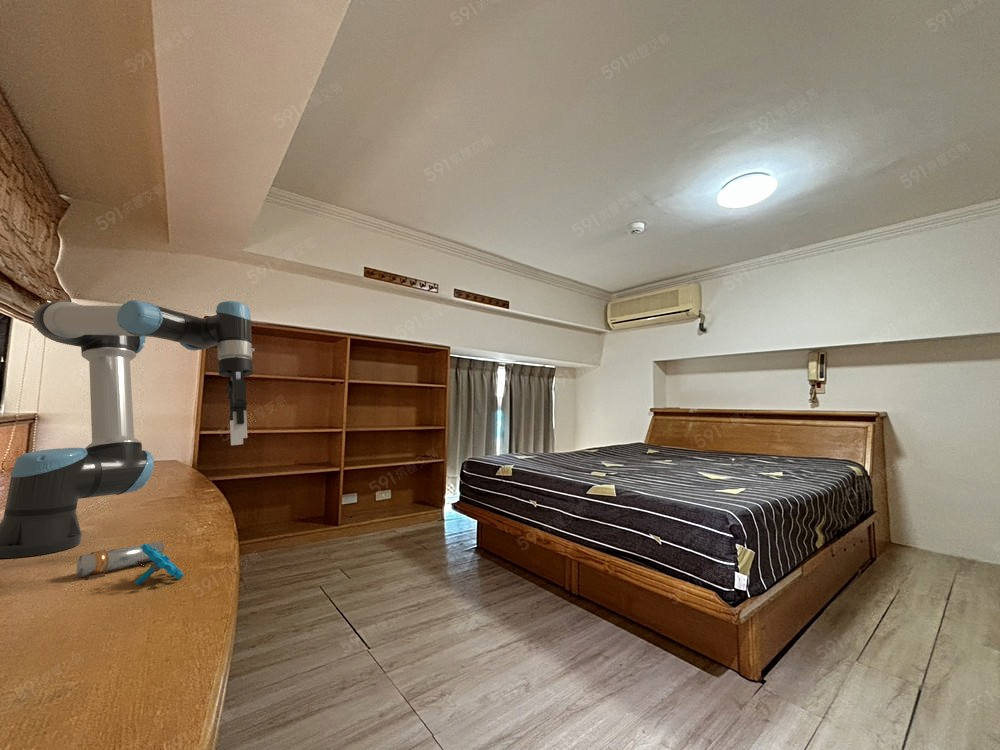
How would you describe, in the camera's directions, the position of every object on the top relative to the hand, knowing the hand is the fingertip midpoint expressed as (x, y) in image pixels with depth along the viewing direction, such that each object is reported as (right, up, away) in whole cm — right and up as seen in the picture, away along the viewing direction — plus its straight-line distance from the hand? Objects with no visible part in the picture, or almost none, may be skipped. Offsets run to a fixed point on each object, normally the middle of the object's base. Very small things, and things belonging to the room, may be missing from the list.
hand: (238, 441), depth 100 cm
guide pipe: (-16, -25, -14) cm, 33 cm away
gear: (-4, -25, -19) cm, 32 cm away
